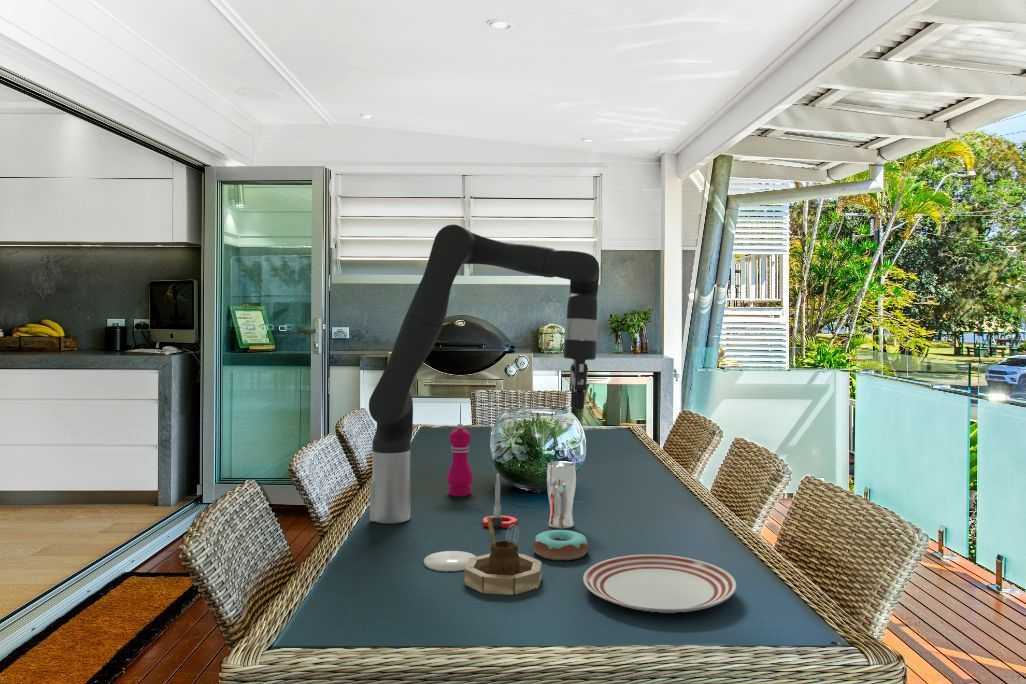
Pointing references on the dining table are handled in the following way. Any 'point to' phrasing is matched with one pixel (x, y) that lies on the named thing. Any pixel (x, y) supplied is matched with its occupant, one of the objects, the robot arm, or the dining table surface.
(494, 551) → the utensil holder
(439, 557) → the coaster
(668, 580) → the dinner plate
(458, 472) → the pepper mill
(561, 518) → the beer glass
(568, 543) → the donut
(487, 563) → the oak ring
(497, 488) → the tow hook
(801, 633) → the dining table surface
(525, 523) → the dining table surface
